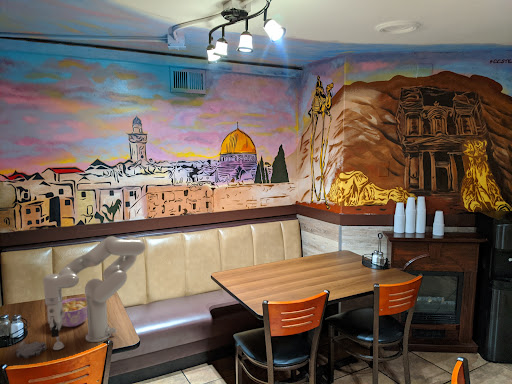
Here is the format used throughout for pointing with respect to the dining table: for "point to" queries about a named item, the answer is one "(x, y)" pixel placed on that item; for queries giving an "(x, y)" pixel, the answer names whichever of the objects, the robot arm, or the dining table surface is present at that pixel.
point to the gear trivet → (31, 349)
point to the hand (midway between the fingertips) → (57, 332)
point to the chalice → (58, 344)
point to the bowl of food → (74, 311)
